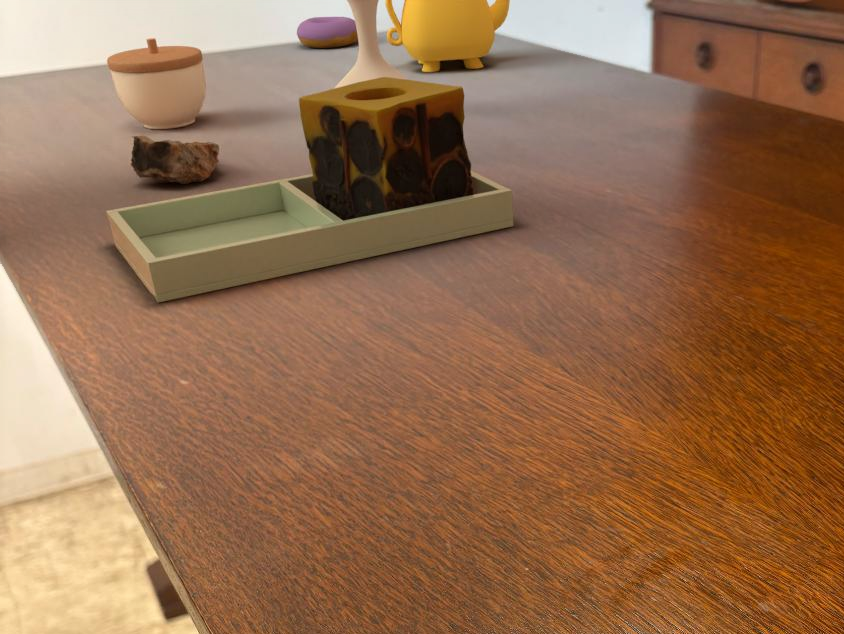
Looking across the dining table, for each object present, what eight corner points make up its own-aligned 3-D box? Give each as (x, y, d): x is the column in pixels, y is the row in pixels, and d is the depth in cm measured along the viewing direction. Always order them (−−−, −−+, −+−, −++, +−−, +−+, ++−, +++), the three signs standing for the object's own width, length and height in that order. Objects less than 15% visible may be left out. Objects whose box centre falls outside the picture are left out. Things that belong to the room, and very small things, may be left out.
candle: (477, 206, 96) (468, 86, 90) (392, 237, 89) (378, 110, 84) (398, 188, 101) (386, 74, 96) (313, 216, 95) (295, 95, 90)
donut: (295, 49, 169) (290, 14, 167) (302, 52, 177) (298, 19, 176) (359, 45, 169) (355, 10, 167) (364, 48, 178) (360, 15, 176)
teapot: (387, 60, 160) (377, -38, 153) (521, 50, 163) (516, -46, 155) (393, 78, 149) (382, -26, 142) (536, 67, 151) (532, -36, 144)
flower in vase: (385, 100, 137) (358, -132, 123) (443, 112, 130) (422, -132, 116) (298, 121, 130) (260, -124, 116) (356, 135, 123) (322, -124, 109)
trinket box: (191, 108, 137) (175, 27, 132) (230, 122, 130) (213, 37, 125) (109, 124, 132) (88, 40, 127) (144, 139, 125) (124, 51, 120)
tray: (115, 246, 93) (106, 210, 91) (437, 184, 105) (434, 151, 103) (157, 302, 81) (147, 262, 80) (513, 226, 93) (511, 190, 92)
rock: (201, 191, 106) (244, 145, 113) (168, 134, 103) (215, 90, 109) (133, 209, 110) (179, 163, 116) (99, 154, 106) (149, 110, 113)
